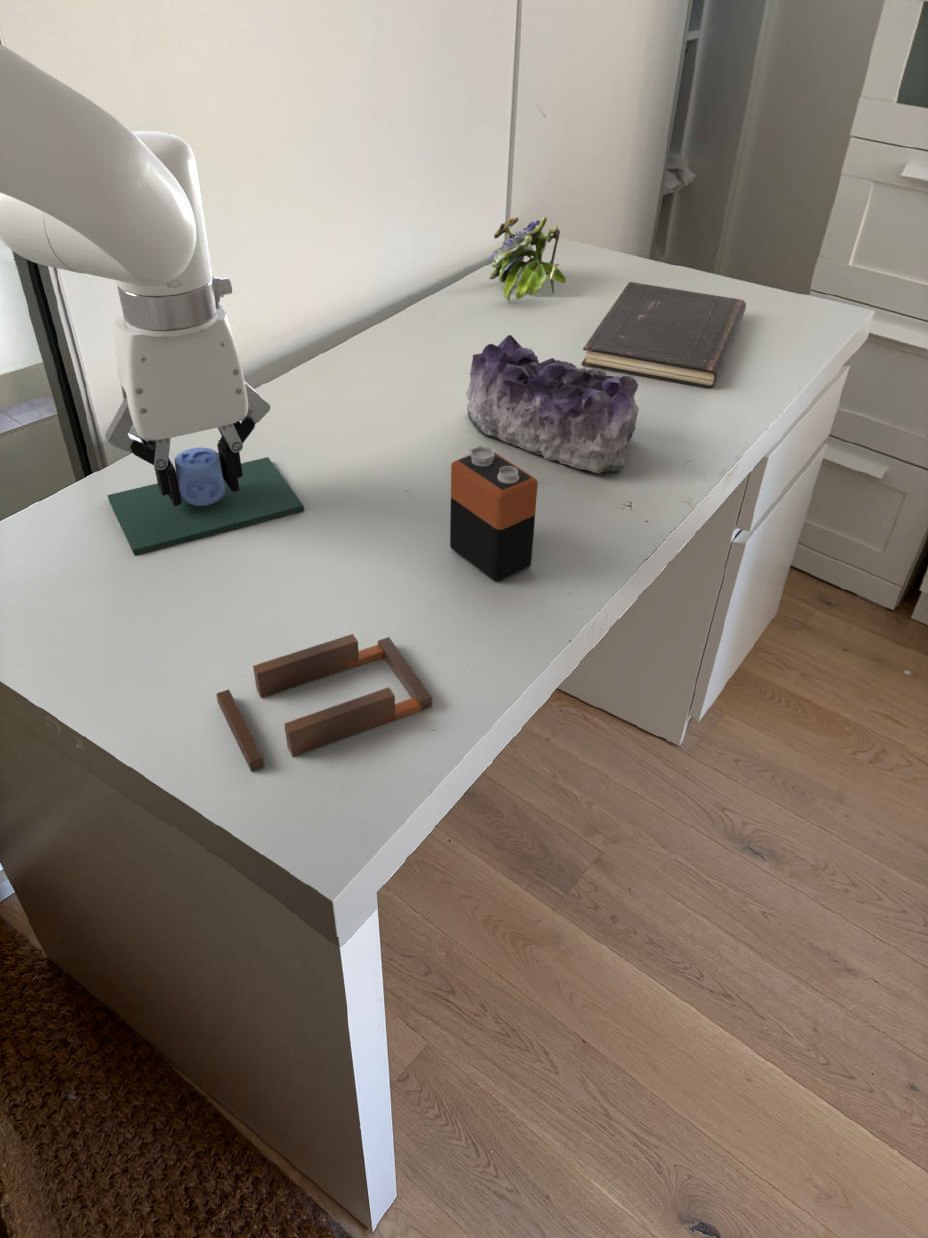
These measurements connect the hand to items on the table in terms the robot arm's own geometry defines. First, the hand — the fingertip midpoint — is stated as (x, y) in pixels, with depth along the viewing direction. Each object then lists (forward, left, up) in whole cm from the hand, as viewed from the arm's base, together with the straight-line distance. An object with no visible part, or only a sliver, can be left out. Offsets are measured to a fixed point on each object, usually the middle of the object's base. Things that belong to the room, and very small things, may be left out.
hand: (202, 489), depth 91 cm
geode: (+36, -3, -2) cm, 36 cm away
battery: (+20, -19, -2) cm, 28 cm away
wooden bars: (0, -30, -2) cm, 30 cm away
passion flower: (+56, +34, -2) cm, 65 cm away
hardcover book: (+63, +11, -2) cm, 64 cm away
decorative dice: (0, 0, -1) cm, 1 cm away
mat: (0, 0, -2) cm, 2 cm away
